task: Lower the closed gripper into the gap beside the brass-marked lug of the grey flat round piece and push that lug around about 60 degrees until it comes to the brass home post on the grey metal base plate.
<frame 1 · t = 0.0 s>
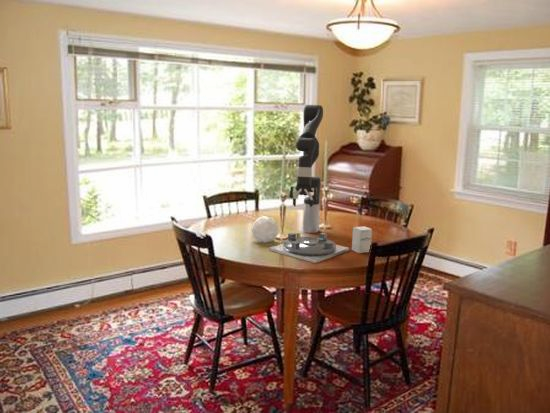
hand: (302, 206, 266), 22 cm above the table, tool pointing down, fingers open, 8 cm apart
base plate: (309, 250, 266), on the table
grey flat round piece: (309, 242, 265), point 4 cm above the table, hinge at 0.0°
supplement box: (361, 251, 267), on the table
white ball: (264, 242, 280), on the table
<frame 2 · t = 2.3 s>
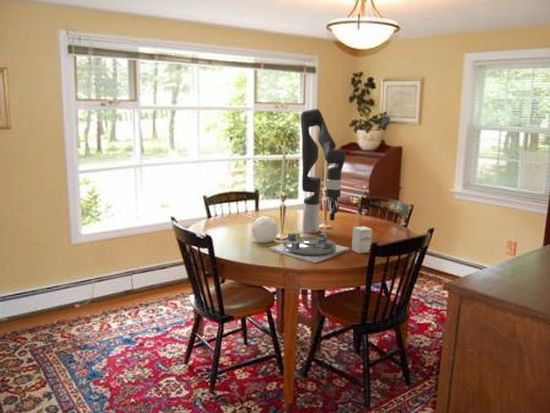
hand: (332, 220, 265), 16 cm above the table, tool pointing down, fingers closed
nothing on the table moved.
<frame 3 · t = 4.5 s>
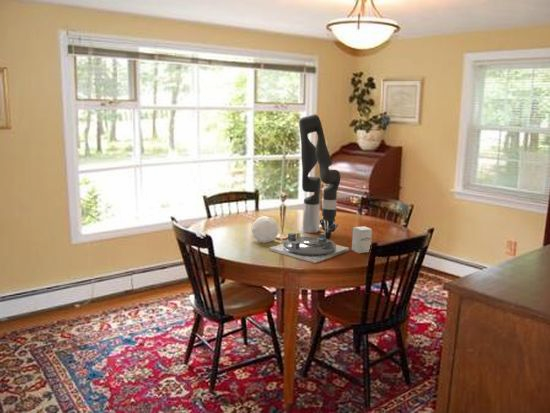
hand: (328, 238, 271), 5 cm above the table, tool pointing down, fingers closed
grey flat round piece: (309, 242, 265), point 4 cm above the table, hinge at 0.0°, touching gripper
everything else where it was.
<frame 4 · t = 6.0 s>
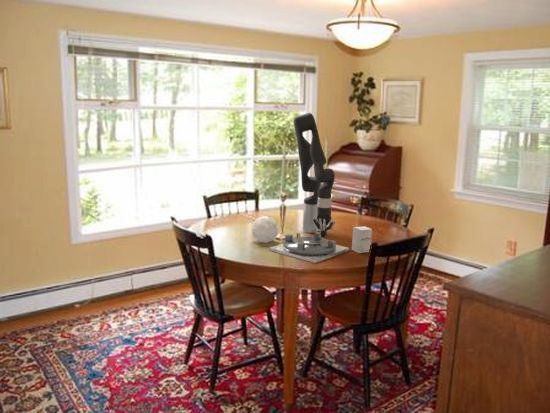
hand: (323, 237, 274), 5 cm above the table, tool pointing down, fingers closed
grey flat round piece: (309, 242, 265), point 4 cm above the table, hinge at 15.6°, touching gripper
everything else where it was.
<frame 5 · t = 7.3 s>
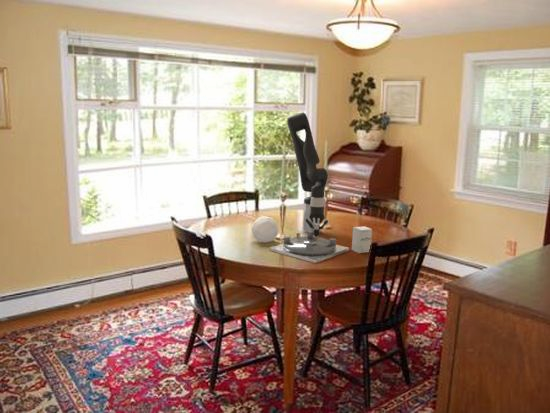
hand: (316, 236, 276), 5 cm above the table, tool pointing down, fingers closed
grey flat round piece: (309, 242, 265), point 4 cm above the table, hinge at 35.6°, touching gripper
everything else where it was.
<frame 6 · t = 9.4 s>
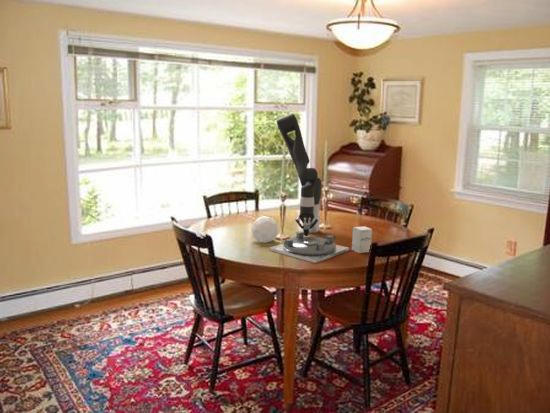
hand: (306, 235, 276), 5 cm above the table, tool pointing down, fingers closed
grey flat round piece: (309, 242, 265), point 4 cm above the table, hinge at 63.4°, touching gripper
everything else where it was.
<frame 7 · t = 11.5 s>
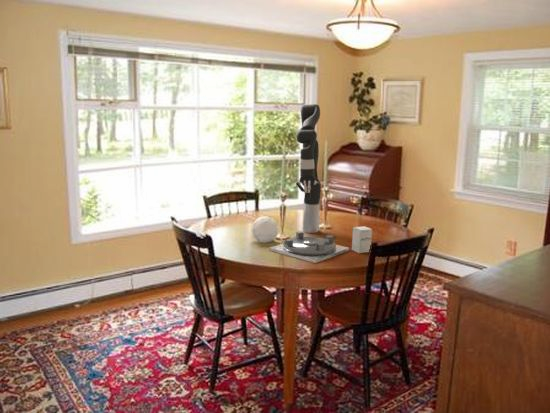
hand: (307, 199, 273), 25 cm above the table, tool pointing down, fingers closed
grey flat round piece: (309, 242, 265), point 4 cm above the table, hinge at 63.5°
everything else where it was.
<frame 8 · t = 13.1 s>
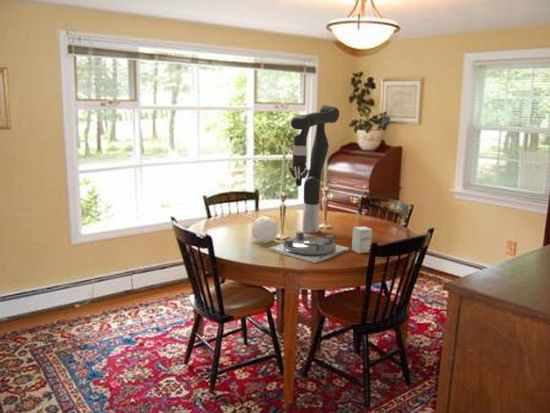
hand: (298, 185, 273), 32 cm above the table, tool pointing down, fingers closed
nothing on the table moved.
at the end: grey flat round piece at +64° (first picture: +0°); supplement box moved 0.2 cm from its start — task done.
